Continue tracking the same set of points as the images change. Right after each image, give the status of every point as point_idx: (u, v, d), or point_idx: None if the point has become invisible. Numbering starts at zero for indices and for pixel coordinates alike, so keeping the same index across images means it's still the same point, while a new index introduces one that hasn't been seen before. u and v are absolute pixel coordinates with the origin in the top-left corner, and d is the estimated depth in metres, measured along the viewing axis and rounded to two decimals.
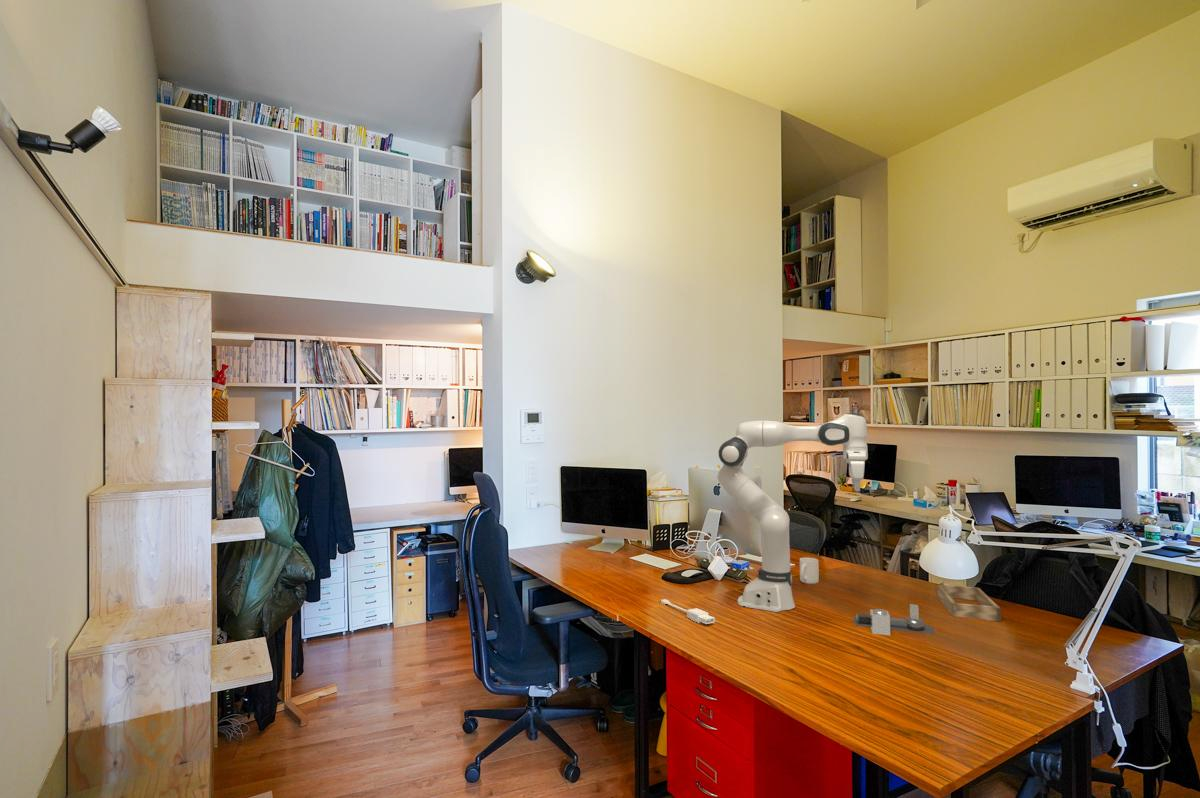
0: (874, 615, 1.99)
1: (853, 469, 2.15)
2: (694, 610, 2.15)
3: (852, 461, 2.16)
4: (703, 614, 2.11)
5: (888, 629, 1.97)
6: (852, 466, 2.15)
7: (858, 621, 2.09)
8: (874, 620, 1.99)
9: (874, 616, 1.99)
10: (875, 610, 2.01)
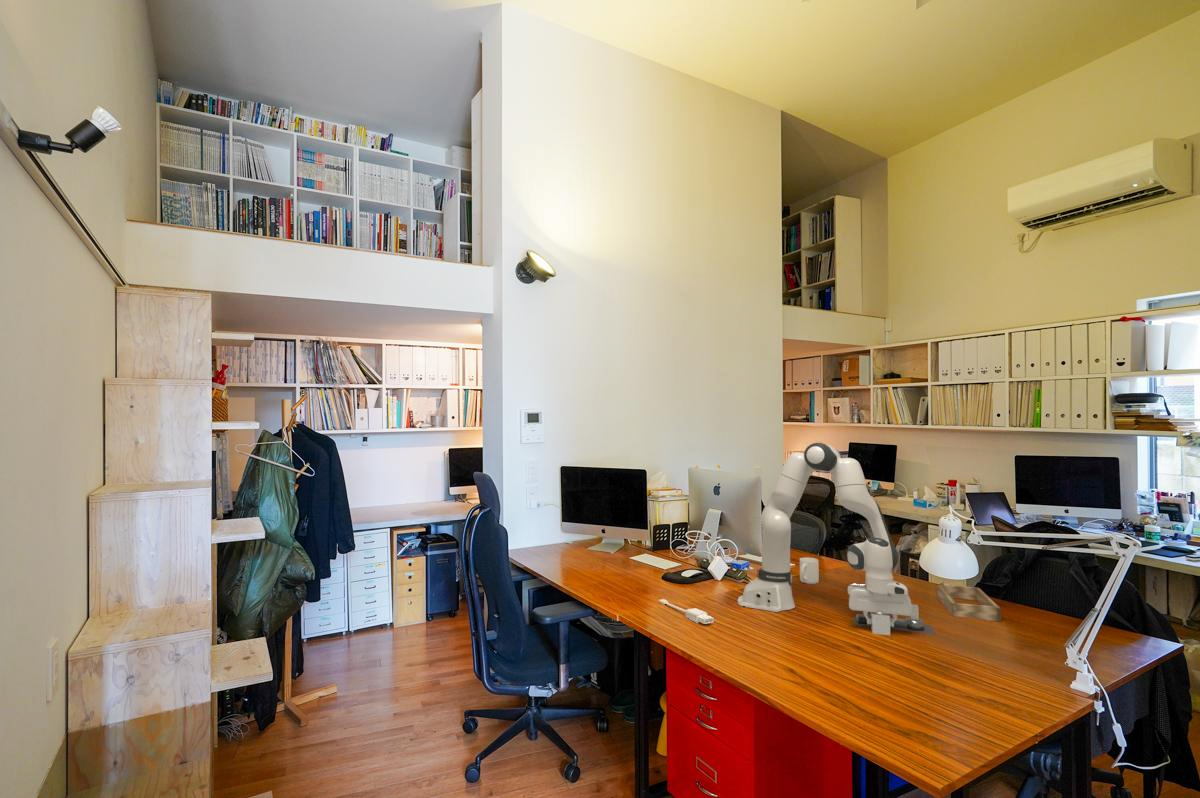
0: (874, 615, 1.99)
1: (911, 604, 1.96)
2: (692, 610, 2.15)
3: (907, 595, 1.97)
4: (702, 614, 2.12)
5: (888, 629, 1.97)
6: (910, 601, 1.96)
7: (858, 621, 2.09)
8: (874, 620, 1.99)
9: (874, 616, 1.99)
10: None
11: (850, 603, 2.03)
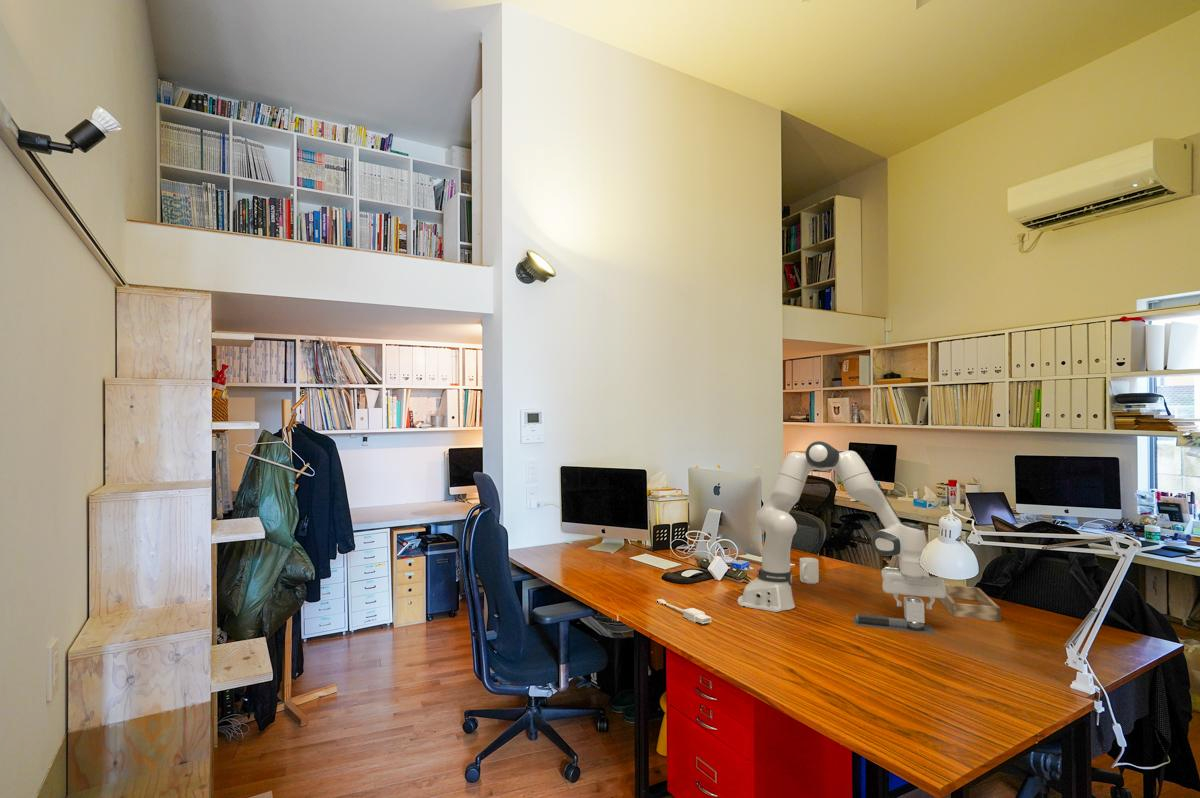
0: (908, 602, 2.02)
1: None
2: (690, 610, 2.15)
3: None
4: (699, 614, 2.12)
5: (922, 616, 2.01)
6: (944, 584, 2.00)
7: (858, 621, 2.09)
8: (908, 607, 2.02)
9: (908, 603, 2.02)
10: (909, 597, 2.05)
11: (884, 586, 2.06)
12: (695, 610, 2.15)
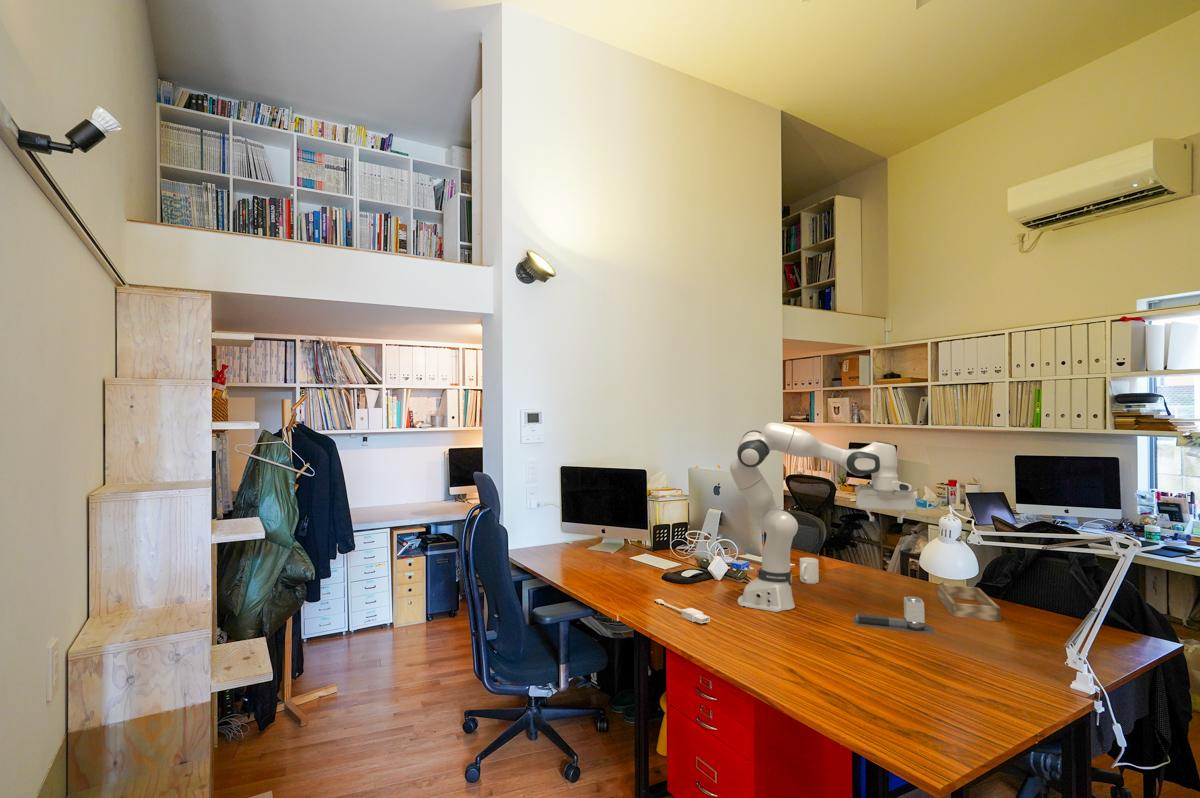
0: (908, 602, 2.02)
1: (915, 500, 2.08)
2: (689, 610, 2.15)
3: (911, 492, 2.08)
4: (698, 613, 2.12)
5: (922, 616, 2.01)
6: (914, 497, 2.08)
7: (858, 621, 2.09)
8: (908, 607, 2.02)
9: (908, 603, 2.02)
10: (909, 597, 2.05)
11: (857, 502, 2.14)
12: (693, 610, 2.15)
